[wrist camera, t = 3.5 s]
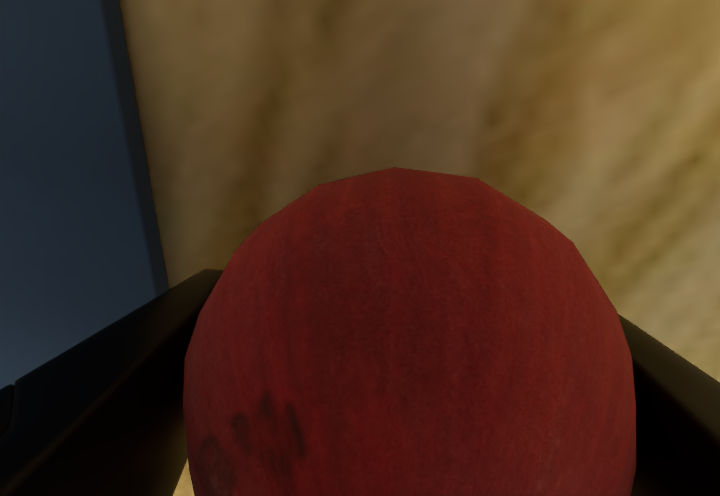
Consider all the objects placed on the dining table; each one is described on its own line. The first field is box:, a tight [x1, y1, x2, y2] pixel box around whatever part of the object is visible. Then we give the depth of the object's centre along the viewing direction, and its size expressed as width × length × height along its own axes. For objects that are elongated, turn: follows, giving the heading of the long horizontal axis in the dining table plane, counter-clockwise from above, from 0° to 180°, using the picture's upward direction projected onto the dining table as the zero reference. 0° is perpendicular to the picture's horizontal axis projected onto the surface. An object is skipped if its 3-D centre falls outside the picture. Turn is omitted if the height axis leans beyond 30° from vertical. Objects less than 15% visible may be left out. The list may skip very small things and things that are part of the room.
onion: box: [183, 167, 636, 496], centre depth 7 cm, size 6×6×8 cm
